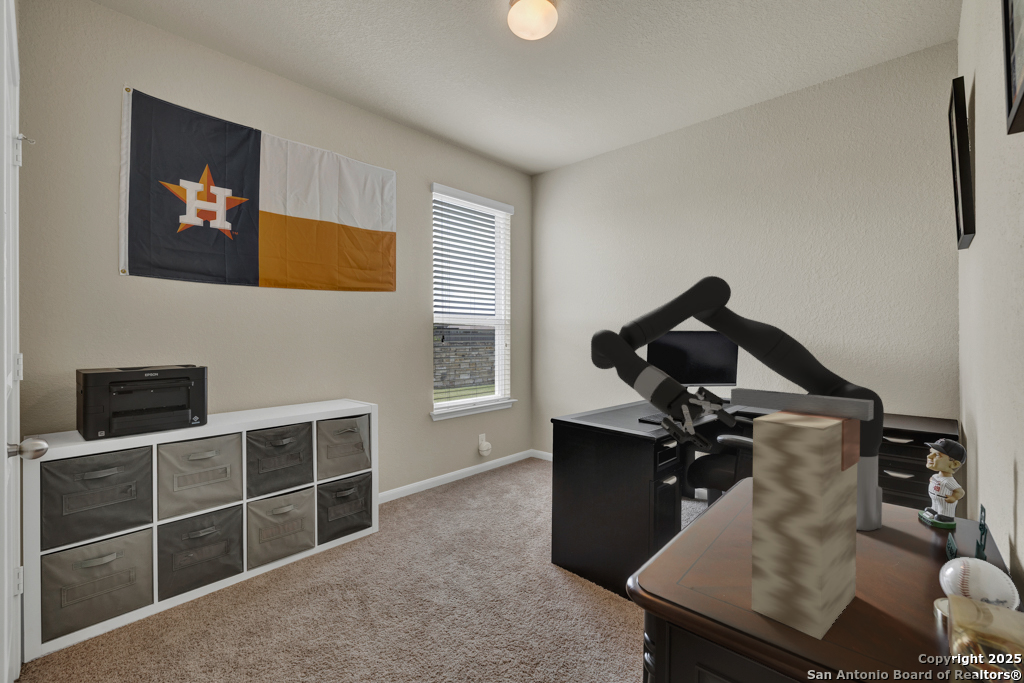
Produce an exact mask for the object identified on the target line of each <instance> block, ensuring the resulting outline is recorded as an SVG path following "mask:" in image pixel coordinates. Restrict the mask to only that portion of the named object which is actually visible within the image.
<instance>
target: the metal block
mask: <svg viewBox="0 0 1024 683" xmlns="http://www.w3.org/2000/svg"><path fill="white" fill-rule="evenodd" d="M730 404H731V405H732V406H743V407H750V408H759V409H766V410H768V409H769V410H776V411H790V412H798V413H807V414H815V415H823V416H832V417H840V418H848V419H856V420H865V421H869V420H871V419H873V408H874V400H863V399H852V398H841V397H830V396H820V395H811V394H810V393H808V394H806V393H796V392H786V391H785V392H784V391H774V390H765V389H764V390H763V389H755V388H754V389H753V388H743V387H742V388H741V387H737V388H735V387H734V388H731V389H730Z"/></svg>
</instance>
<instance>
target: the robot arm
mask: <svg viewBox="0 0 1024 683" xmlns="http://www.w3.org/2000/svg"><path fill="white" fill-rule="evenodd" d="M731 295H732V290H731V287H730V284H729V283H728V282H727V280H724V278H722V277H719V276H716V275H715V276H713V275H710V276H709V275H708V276H705V277H702V278H701V279H699V280H698V281H696V283H695V284H693V285H692V286H690V287H689V288H688V289H686V290H685V291H683V292H682V293H680V294H679V295H677V296H676V297H674V298H672V299H671V300H669V301H667V302H666V303H664V304H662V305H660V306H658V307H656V308H654V309H652V310H650V311H648V312H647V313H645V314H642V315H641V316H638V317H636V318H634V319H633V320H632V319H631V321H629V322H626V323H625V324H623V325H622V326H621V328H620V330H619V333H617V332H615V331H613V330H610V329H599V330H598V331H596V332H595V333H593V335H592V337H591V340H590V352H591V354H590V357H591V358H590V359H591V362H592V364H593V365H594V366H595V367H596V368H598V369H602V370H609V369H613V368H615V371H616V374H617V377H618V378H619V379H620V380H621V381H622V382H624V383H625V384H626V385H627V386H629V387H630V388H631V389H633V390H634V391H635V392H637V394H638V395H640V397H642V398H643V399H644V400H646V402H648V403H650V404H651V405H652V406H653V407H654V408H655V409H657V410H658V411H660V412H661V413H662V414H664V415H667V417H666V416H664V417H663V418H662V421H661V424H660V426H661V428H662V429H663V430H664V431H666V432H667V433H668V434H669V435H670V436H672V437H673V438H674V439H675V440H676V441H677V442H678V443H680V444H684V443H685V442H688V441H691V442H692V443H694V444H695V445H696V446H697V447H699V448H700V449H702V450H703V451H707V452H709V451H710V450H711V448H712V447H713V443H712V442H711V441H710V440H708V438H706V437H704V436H703V435H702V434H700V433H699V432H698V431H697V432H695V429H694V426H693V424H694V423H695V421H696V420H697V419H699V418H700V417H701V416H708V415H710V416H715V417H716V418H717V419H719V420H720V421H721V422H723V423H724V424H725V425H727V426H728V427H729V428H733V427H734V426H735V425H736V423H737V420H736V417H735V416H734V415H732V414H731V413H729V412H728V411H726V409H724V408H723V405H724V403H725V400H724V399H723V398H722V397H720V396H718V395H716V394H715V393H713V392H712V391H710V390H709V389H707V388H705V387H704V386H699V387H698V388H697V391H696V392H695V393H691V392H690V391H689V390H688V389H687V388H686V386H684V385H683V384H681V383H680V382H679V381H678V380H676V379H674V378H673V377H671V376H670V375H668V374H667V373H666V372H665V371H663V370H661V369H659V368H658V367H656V366H654V365H653V364H651V363H649V362H648V361H647V360H645V359H644V358H642V357H641V356H639V355H638V353H637V352H636V351H637V350H638V349H640V348H642V347H644V346H646V345H648V344H650V343H652V342H654V341H656V340H657V339H660V338H661V337H662V336H664V335H665V334H667V333H669V332H670V331H672V330H673V329H674V328H676V327H677V326H679V325H680V324H681V323H684V322H685V321H686V320H688V319H690V318H694V319H696V320H697V321H698V322H700V323H702V324H703V325H705V326H708V327H709V328H710V329H712V330H714V331H716V332H718V333H719V334H721V335H723V336H724V337H726V338H727V339H728V340H730V341H731V342H733V343H734V344H735V345H737V346H738V347H740V348H741V349H742V350H745V351H746V353H749V355H751V356H752V357H753V358H755V360H758V361H759V362H760V363H762V364H763V365H764V366H766V367H767V368H768V369H770V370H771V371H773V372H774V373H776V374H778V375H780V376H781V378H785V379H786V380H788V381H789V382H792V383H793V384H794V385H797V386H798V387H800V388H802V389H803V390H805V391H806V392H807V393H808V394H809V395H820V396H830V397H841V398H852V399H863V400H874V408H873V419H871V420H869V421H865V420H860V459H859V462H857V519H856V531H857V530H858V531H874V530H876V529H882V528H883V527H882V523H883V522H882V521H883V520H882V519H883V518H882V516H883V488H882V487H881V486H879V450H880V447H881V445H882V441H883V434H884V432H883V431H884V419H885V418H884V414H885V412H884V410H885V409H884V403H883V401H882V398H881V396H880V395H879V394H878V393H877V392H875V391H874V390H872V389H871V388H868V387H864V386H861V385H857V384H854V383H852V382H851V381H848V380H847V379H845V378H843V377H842V376H840V375H838V374H836V373H834V372H833V371H832V370H830V369H828V368H827V367H825V365H823V364H822V363H821V362H820V361H819V360H818V359H817V358H816V357H815V356H814V355H813V353H811V351H809V349H807V348H806V347H805V346H804V345H803V344H802V343H801V342H799V341H798V340H796V338H794V337H792V336H791V335H789V334H788V333H787V332H786V331H784V330H782V329H781V328H779V327H777V326H774V325H772V324H769V323H765V322H763V321H758V320H754V319H750V318H747V317H744V316H741V315H740V314H738V313H737V312H734V311H733V310H732V309H730V308H729V307H728V306H726V305H727V304H728V303H729V301H730V298H731ZM675 422H676V423H679V424H680V426H681V427H679V426H678V425H677V424H676V423H675Z"/></svg>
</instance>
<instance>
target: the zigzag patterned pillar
mask: <svg viewBox="0 0 1024 683" xmlns="http://www.w3.org/2000/svg"><path fill="white" fill-rule="evenodd" d="M752 420H753V421H752V425H753V427H752V428H753V429H752V431H753V432H752V510H751V512H752V515H751V516H752V518H751V519H752V520H751V522H752V526H751V530H752V531H751V547H752V548H751V611H754V612H756V613H758V614H762V615H763V616H766V617H768V618H770V619H771V620H774V621H777V622H780V623H781V624H784V625H786V626H788V627H791V628H792V629H795V630H797V631H799V632H802V633H803V634H805V635H808V636H810V637H813V638H815V639H816V640H817V639H818V640H820V641H822V639H823V637H824V636H825V635H826V634H827V633H828V631H829V630H830V629H831V628H832V626H833V625H834V624H835V622H836V621H837V620H836V619H839V617H840V616H841V615H842V613H843V612H844V611H845V610H846V608H847V607H848V606H849V604H850V603H851V602H852V600H853V599H854V598H855V596H856V584H857V582H856V580H857V578H856V576H857V575H856V573H857V570H856V568H857V565H856V564H857V562H856V561H857V530H856V519H857V462H859V459H860V420H856V419H848V418H840V417H832V416H823V415H815V414H807V413H798V412H790V411H782V410H778V411H775V412H772V413H767V414H765V415H761V416H758V417H756V418H753V419H752ZM847 605H848V606H847ZM846 606H847V607H846ZM844 609H845V610H844ZM843 610H844V611H843ZM842 611H843V612H842ZM840 614H841V615H840ZM839 615H840V616H839ZM838 616H839V617H838ZM835 620H836V621H835ZM833 623H834V624H833ZM832 624H833V625H832Z"/></svg>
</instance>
